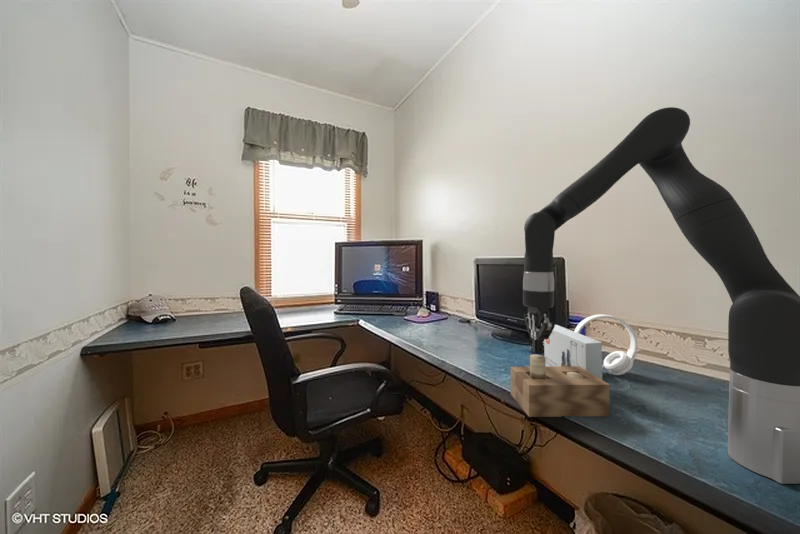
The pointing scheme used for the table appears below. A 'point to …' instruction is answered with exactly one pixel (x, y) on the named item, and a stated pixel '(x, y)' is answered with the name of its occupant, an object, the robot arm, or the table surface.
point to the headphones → (618, 359)
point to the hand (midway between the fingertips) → (537, 352)
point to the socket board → (560, 393)
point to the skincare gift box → (573, 351)
